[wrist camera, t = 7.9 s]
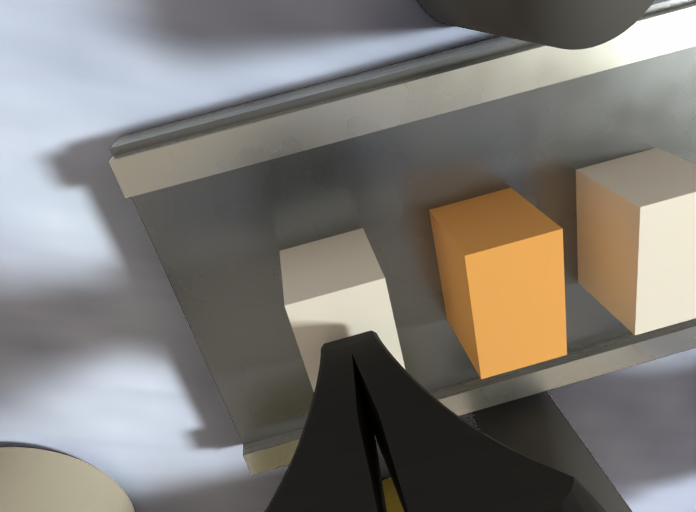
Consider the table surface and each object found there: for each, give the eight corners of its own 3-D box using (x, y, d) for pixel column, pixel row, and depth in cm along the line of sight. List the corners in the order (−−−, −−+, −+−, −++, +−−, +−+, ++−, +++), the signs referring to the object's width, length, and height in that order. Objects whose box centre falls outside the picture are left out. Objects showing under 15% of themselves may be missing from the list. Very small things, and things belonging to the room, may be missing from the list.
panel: (744, -29, 15) (798, -30, 14) (704, 313, 21) (739, 339, 19) (120, 136, 15) (104, 153, 13) (253, 442, 20) (253, 479, 19)
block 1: (362, 228, 16) (384, 278, 13) (388, 336, 17) (412, 399, 15) (279, 250, 15) (284, 305, 13) (313, 357, 17) (324, 423, 15)
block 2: (510, 187, 16) (562, 228, 13) (520, 299, 18) (567, 355, 15) (429, 209, 16) (464, 256, 13) (446, 319, 18) (481, 379, 15)
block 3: (656, 147, 16) (736, 180, 13) (649, 262, 18) (719, 311, 15) (575, 169, 16) (640, 207, 13) (577, 282, 18) (635, 335, 15)
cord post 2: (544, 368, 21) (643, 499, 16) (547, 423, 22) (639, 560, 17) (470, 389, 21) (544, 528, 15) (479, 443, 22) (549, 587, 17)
